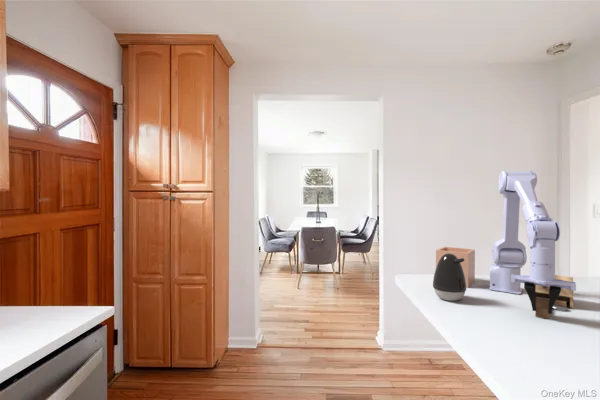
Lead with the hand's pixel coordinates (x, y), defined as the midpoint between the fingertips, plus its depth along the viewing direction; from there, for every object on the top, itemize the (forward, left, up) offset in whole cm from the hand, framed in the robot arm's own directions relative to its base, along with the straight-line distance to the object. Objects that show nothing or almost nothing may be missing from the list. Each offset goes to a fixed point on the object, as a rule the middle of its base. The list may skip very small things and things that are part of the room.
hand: (541, 311), depth 92 cm
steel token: (+3, +12, -2) cm, 13 cm away
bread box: (+2, +20, -2) cm, 20 cm away
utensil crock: (-29, +26, -2) cm, 39 cm away
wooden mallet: (+2, +8, -2) cm, 8 cm away
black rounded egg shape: (-25, +2, -2) cm, 25 cm away
